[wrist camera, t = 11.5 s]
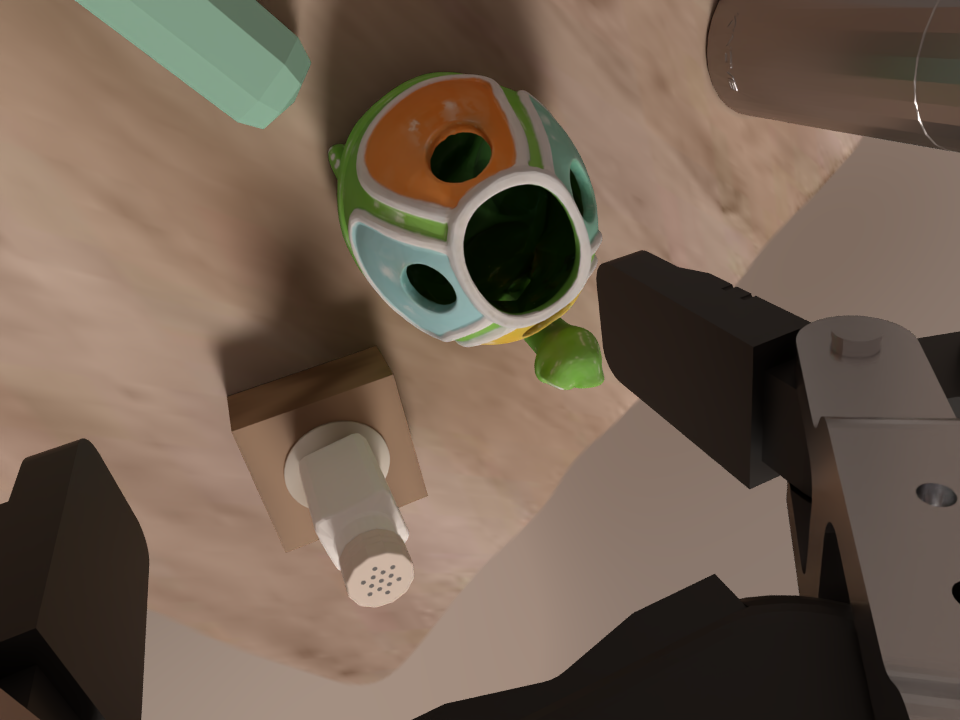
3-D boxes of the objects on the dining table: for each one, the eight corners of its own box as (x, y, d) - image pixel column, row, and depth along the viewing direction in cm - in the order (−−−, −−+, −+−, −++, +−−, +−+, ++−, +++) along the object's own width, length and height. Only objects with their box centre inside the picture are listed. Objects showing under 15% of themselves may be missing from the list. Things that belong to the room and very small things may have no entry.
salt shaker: (293, 457, 38) (323, 573, 30) (359, 425, 39) (406, 530, 31) (321, 507, 40) (357, 628, 32) (384, 476, 41) (434, 587, 33)
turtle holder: (448, 391, 45) (525, 497, 35) (274, 153, 35) (314, 207, 25) (599, 281, 46) (716, 354, 36) (470, 17, 36) (583, 18, 26)
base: (376, 345, 42) (394, 376, 38) (409, 461, 46) (428, 497, 43) (226, 396, 40) (231, 433, 36) (277, 512, 44) (286, 555, 41)
